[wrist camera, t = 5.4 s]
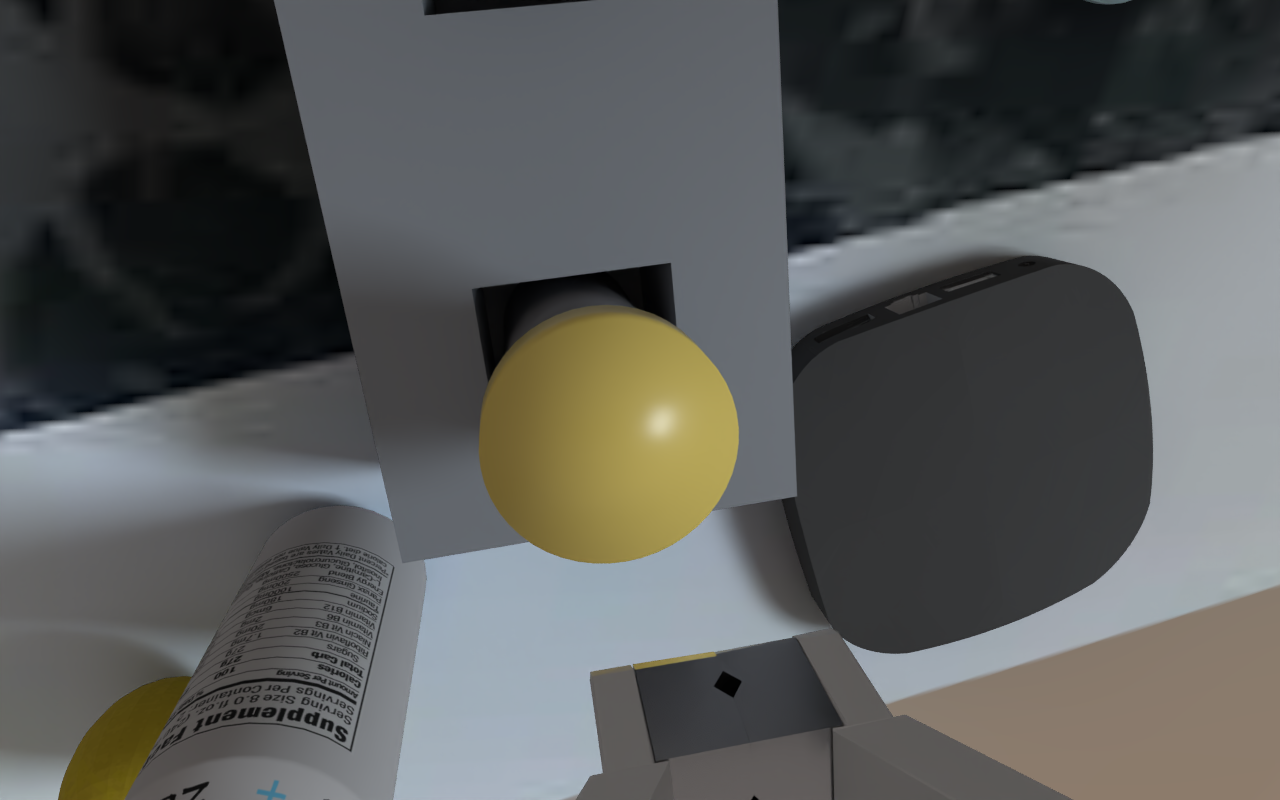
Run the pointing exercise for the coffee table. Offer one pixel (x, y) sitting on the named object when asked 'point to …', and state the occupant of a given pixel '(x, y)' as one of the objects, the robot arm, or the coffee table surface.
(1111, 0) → the pacifier
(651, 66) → the mount
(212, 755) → the energy drink can
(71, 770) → the lemon
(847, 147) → the coffee table surface
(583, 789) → the robot arm
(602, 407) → the knob mustard
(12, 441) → the coffee table surface
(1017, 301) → the media streaming box
